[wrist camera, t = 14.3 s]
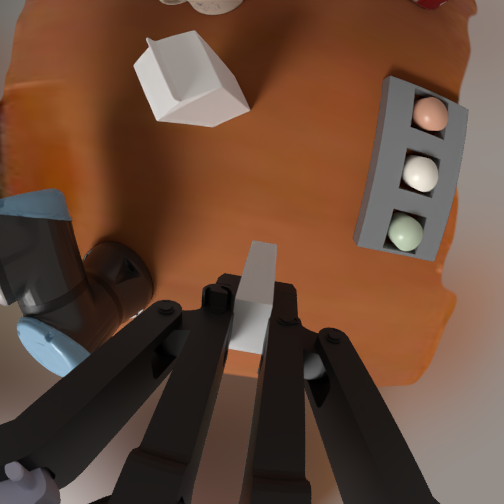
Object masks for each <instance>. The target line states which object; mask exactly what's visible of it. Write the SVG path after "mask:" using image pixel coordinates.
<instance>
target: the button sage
mask: <svg viewBox="0 0 504 504" xmlns="http://www.w3.org/2000/svg"><path fill="white" fill-rule="evenodd" d="M387 236H388V237H389V238H390V240H391V241H392V242H393V243H394V244H395V245H396V246H397V247H398V248H399V249H400V250H403V251H411V250H413V249H415V248H416V247H417V246H418V245H419V244H420V242H421V240H422V236H423V230H422V227H421V225H420V224H419V223H418V222H417V221H416V220H415V219H413V218H412V217H410V216H409V215H408V214H406V213H404V212H396V213H394V214H392V217H391V220H390V224H389V228H388V231H387Z"/></svg>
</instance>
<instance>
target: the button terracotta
mask: <svg viewBox="0 0 504 504" xmlns="http://www.w3.org/2000/svg"><path fill="white" fill-rule="evenodd" d="M411 122H412V123H413V124H414V126H415V127H417V128H418V129H420V130H432V131H439V130H442V129H444V128H445V127H446V125H447V122H448V112H447V109H446V107H445V105H444V104H443V103H442V102H441V101H440V100H439V99H437V98H434V97H429V98H424V99H419V100H415V101H414V104H413V112H412V119H411Z"/></svg>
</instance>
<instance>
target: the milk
mask: <svg viewBox="0 0 504 504" xmlns="http://www.w3.org/2000/svg"><path fill="white" fill-rule="evenodd" d="M146 41H147V43H148V45H149V48H148V49H147V50H146V51H145V52H144V53H143V54H142V56H141V57H140V58H139V59H138V60H137V62H136V63H135V64H134V69H135V71H136V73H137V76H138V78H139V81H140V83H141V85H142V88H143V90H144V93H145V95H146V97H147V100H148V102H149V104H150V107H151V109H152V111H153V114H154V116H155V118H156V120H157V121H162V122H173V123H183V124H191V125H200V126H207V127H215V126H217V125H219V124H221V123H223V122H225V121H228V120H230V119H232V118H234V117H237V116H239V115H241V114H244V113H246V112H248V111H250V108H249V106H248V103H247V101H246V99H245V97H244V95H243V93H242V91H241V88H240V86H239V84H238V82H237V80H236V78H235V76H234V75H233V73H232V72H231V71H230V70H229V69H228V67H227V66H226V65H225V64H224V63H223V61H222V60H221V59H220V58H219V57H218V56H217V54H216V53H215V52H214V51H213V50H212V49H211V48H210V46H209V45H208V44H207V43H206V42H205V41H204V40H203V39H202V37H201V36H200V35H199V34H198V33H197V32H196V31H189V32H185V33H182V34H178V35H174V36H171V37H167V38H164V39H161V40H158V41H153V40H151V39H150V38H146Z"/></svg>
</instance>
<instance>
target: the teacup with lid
mask: <svg viewBox="0 0 504 504" xmlns="http://www.w3.org/2000/svg"><path fill="white" fill-rule="evenodd" d="M160 1H161V2H162V3H164V4H167V5H176V4H180V3H183V2H186V1H188V2H189V3H190V4H191V5H192V7H193V8H194V9H195V10H197V11H198V12H200V13H203V14H207V15H218V14H223V13H227V12H229V11H231V10H233V9H235V8H236V7H238V6H239V5H240V4H241V3H242V1H243V0H160Z"/></svg>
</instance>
